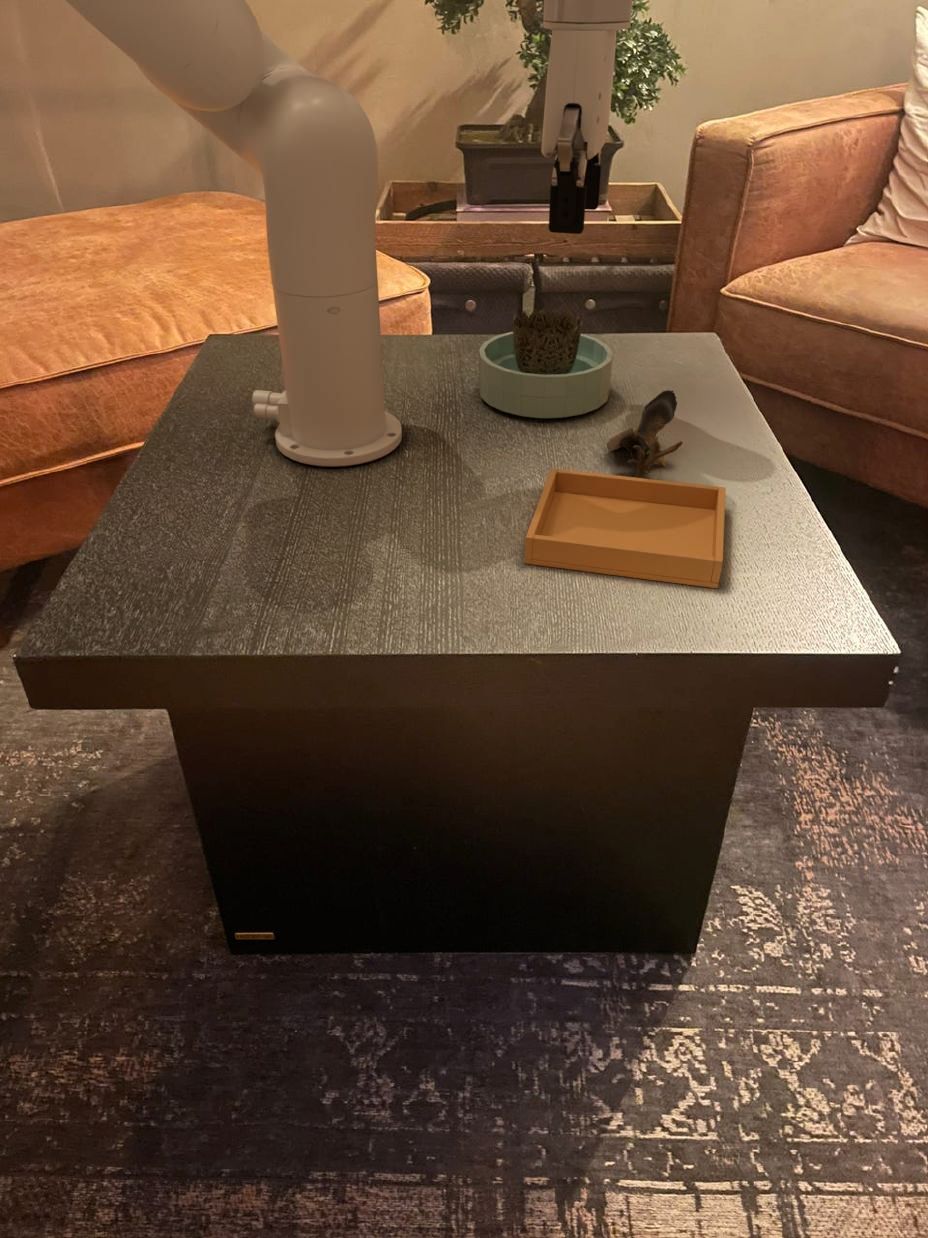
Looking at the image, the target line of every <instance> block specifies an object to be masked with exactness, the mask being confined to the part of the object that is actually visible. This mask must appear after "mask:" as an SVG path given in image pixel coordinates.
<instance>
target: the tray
mask: <svg viewBox="0 0 928 1238" xmlns="http://www.w3.org/2000/svg"><path fill="white" fill-rule="evenodd" d="M635 477H636V476H635ZM635 477H634V476H625V475H616V474H606V473H597V472H589V471H579V470H570V469H560V468H552V467H551V468H550V471H549V473H548V476H547V478H546V480H545V484H544V487H543V489H542V492H541V495H540V498H539V500H538V503H537V505H536V508H535V511H534V513H533V516H532V520H531V522H530V524H529V527H528V529H527V531H526V532H527V533H526V535H525V544H524V564H527V565H535V566H542V567H549V568H556V569H565V570H573V571H580V572H588V573H596V574H601V575H603V574H604V575H611V576H618V577H625V578H626V577H627V578H633V579H641V580H648V581H649V580H650V581H657V582H665V583H670V584H671V583H672V584H680V585H688V586H693V587H695V586H696V587H702V588H711V589H718V588H719V583H720V579H721V574H722V569H723V563H724V545H725V544H724V543H725V542H724V541H725V539H724V538H725V517H726V515H725V513H726V490H727V489H726V487H725V486H717V485H708V484H698V483H691V482H690V483H689V482H679V481H671V480H670V481H669V480H661V479H651V478H643V477H641V478H635Z"/></svg>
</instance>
